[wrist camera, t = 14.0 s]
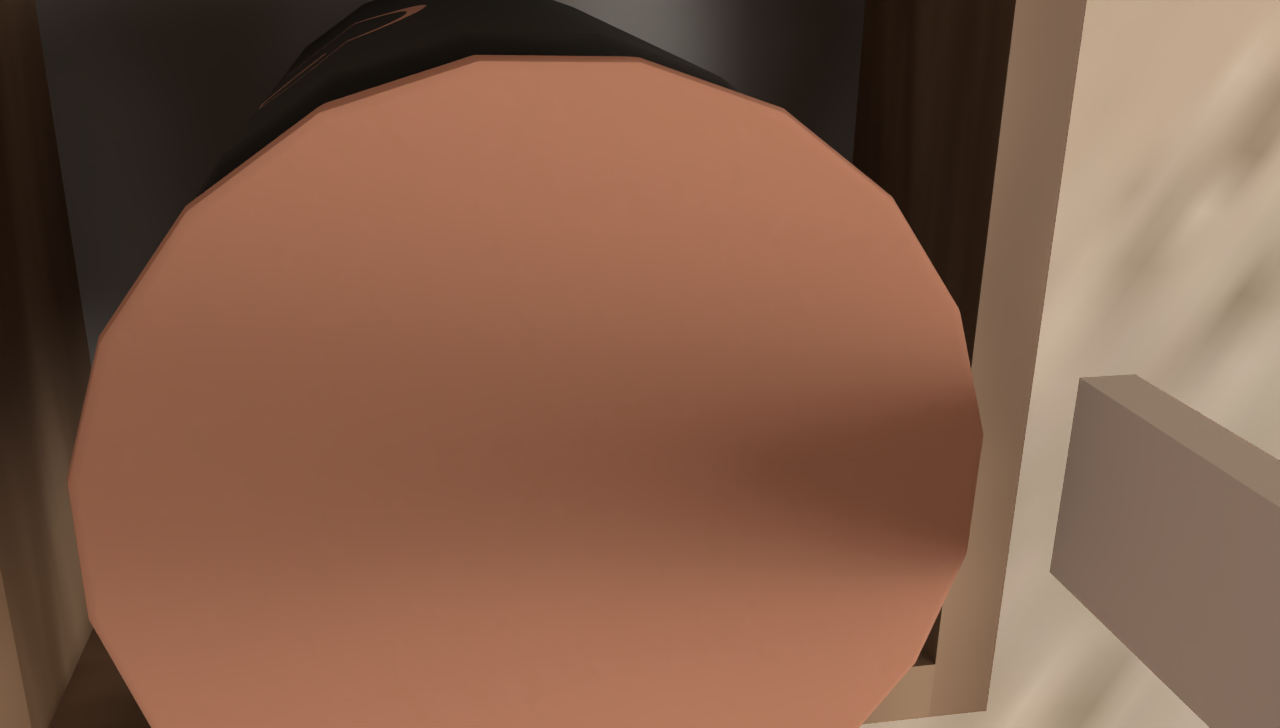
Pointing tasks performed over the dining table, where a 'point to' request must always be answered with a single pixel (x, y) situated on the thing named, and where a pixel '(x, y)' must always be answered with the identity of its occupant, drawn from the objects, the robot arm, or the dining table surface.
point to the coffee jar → (523, 403)
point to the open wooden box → (636, 3)
